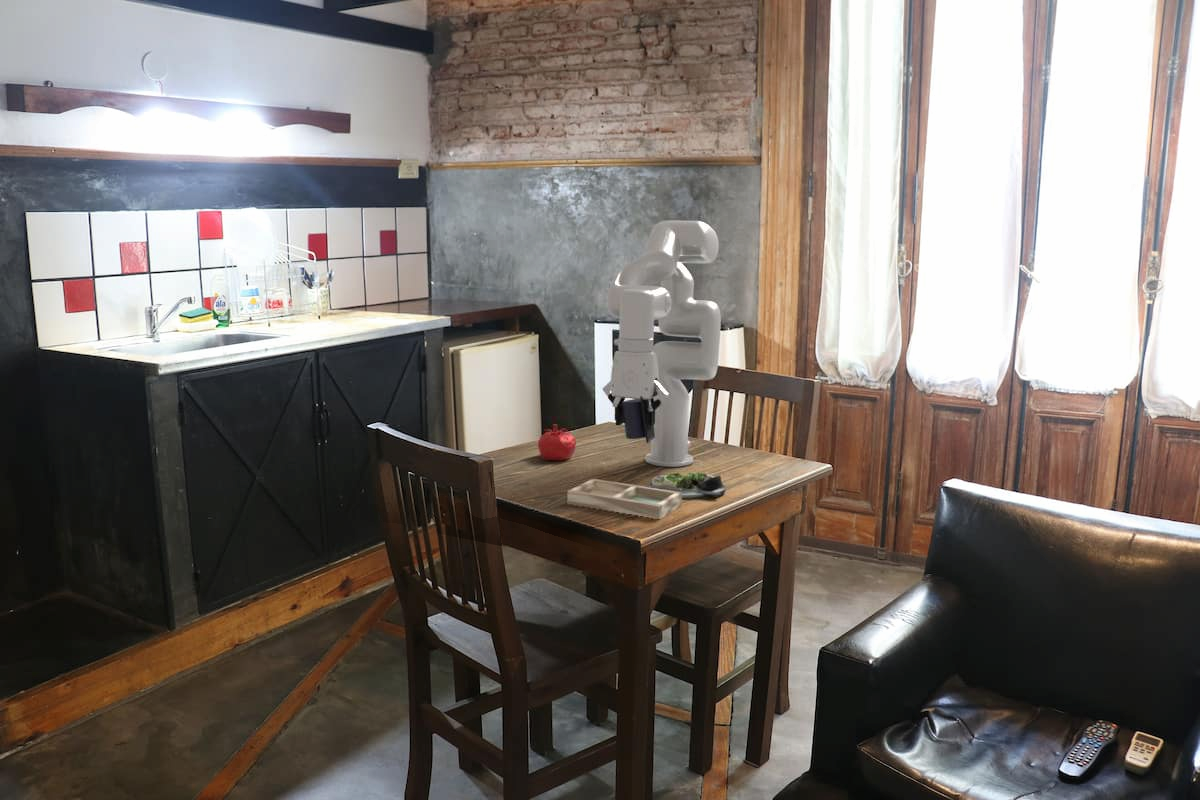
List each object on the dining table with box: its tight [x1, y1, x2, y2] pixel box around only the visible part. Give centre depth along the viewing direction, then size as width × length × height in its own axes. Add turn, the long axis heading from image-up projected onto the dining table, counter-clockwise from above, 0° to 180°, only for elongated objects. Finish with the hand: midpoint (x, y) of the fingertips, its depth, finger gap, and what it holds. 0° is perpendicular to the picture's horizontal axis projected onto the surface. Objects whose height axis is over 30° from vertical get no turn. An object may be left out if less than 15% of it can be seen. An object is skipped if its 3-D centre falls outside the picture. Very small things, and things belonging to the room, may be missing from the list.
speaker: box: [622, 396, 655, 444], centre depth 219 cm, size 8×6×10 cm
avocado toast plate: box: [642, 471, 727, 499], centre depth 234 cm, size 19×18×5 cm
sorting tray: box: [566, 478, 683, 520], centre depth 222 cm, size 12×23×3 cm, turn 62°
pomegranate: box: [537, 423, 577, 462], centre depth 261 cm, size 10×10×9 cm
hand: (634, 425), depth 220 cm, fingers closed on speaker, 6 cm apart
